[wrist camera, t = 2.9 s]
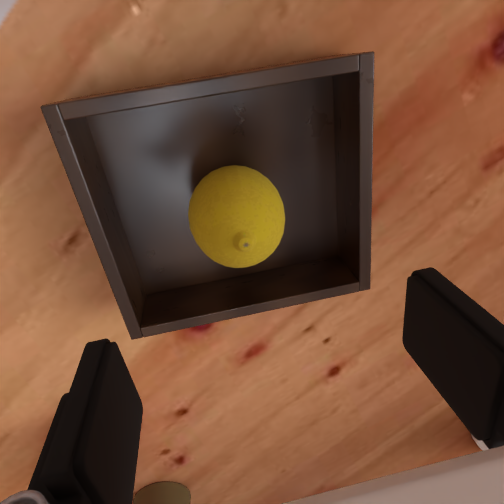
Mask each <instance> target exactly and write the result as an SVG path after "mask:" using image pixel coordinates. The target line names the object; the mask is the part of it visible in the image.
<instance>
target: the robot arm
mask: <svg viewBox="0 0 504 504" xmlns="http://www.w3.org/2000/svg"><path fill="white" fill-rule="evenodd" d="M403 344H404V347H405V349H406V351H407V352H408V353H409V354H410V356H411V357H412V358H413V360H414V361H415V362H416V363H417V365H418V366H419V367H420V369H421V370H422V371H423V372H424V374H425V375H426V376H427V378H428V379H429V380H430V381H431V383H432V384H433V385H434V387H435V388H436V389H437V390H438V392H439V393H440V394H441V396H442V397H443V398H444V399H445V401H446V402H447V403H448V405H449V406H450V407H451V408H452V410H453V411H454V412H455V413H456V415H457V416H458V417H459V419H460V420H461V421H462V422H463V424H464V425H465V426H466V428H467V429H468V430H469V431H470V433H471V435H472V438H473V440H474V441H475V442H476V444H477V445H478V447H479V448H481V449H482V450H483V451H480V452H476V453H472V454H468V455H464V456H460V457H457V458H453V459H449V460H445V461H441V462H437V463H434V464H430V465H426V466H422V467H418V468H414V469H410V470H407V471H403V472H399V473H395V474H391V475H387V476H384V477H380V478H376V479H372V480H369V481H365V482H361V483H357V484H354V485H350V486H346V487H342V488H338V489H335V490H331V491H327V492H324V493H320V494H316V495H312V496H309V497H305V498H301V499H297V500H294V501H290V502H286V503H282V504H504V325H503V324H502V323H501V322H499V321H498V320H497V319H496V318H495V317H493V316H492V315H491V314H490V313H488V312H487V311H486V310H485V309H484V308H482V307H481V306H480V305H479V304H477V303H476V302H475V301H474V300H472V299H471V298H470V297H469V296H468V295H466V294H465V293H464V292H463V291H461V290H460V289H459V288H458V287H456V286H455V285H454V284H453V283H452V282H450V281H449V280H448V279H447V278H445V277H444V276H443V275H442V274H441V273H439V272H438V271H437V270H436V269H434V268H431V267H430V268H426V269H421V270H416V271H414V272H413V273H412V275H411V276H410V277H408V279H407V289H406V302H405V314H404V326H403ZM142 414H143V407H142V402H141V399H140V397H139V394H138V392H137V390H136V387H135V385H134V383H133V380H132V378H131V376H130V373H129V371H128V369H127V366H126V364H125V362H124V359H123V357H122V355H121V352H120V350H119V348H118V345H117V344H116V342H110V341H109V340H108V339H102V340H97V341H93V342H88V343H87V344H86V346H85V348H84V351H83V354H82V357H81V360H80V363H79V366H78V368H77V371H76V374H75V377H74V380H73V383H72V386H71V388H70V391H69V393H66V394H64V395H63V396H62V398H61V400H60V402H59V405H58V408H57V411H56V413H55V416H54V419H53V422H52V424H51V427H50V430H49V432H48V435H47V438H46V441H45V443H44V446H43V449H42V451H41V454H40V457H39V460H38V462H37V465H36V468H35V471H34V473H33V476H32V479H31V481H30V484H29V487H28V490H25V491H20V492H18V493H16V494H14V495H11V496H9V497H8V498H7V499H5V500H4V501H2V502H1V503H0V504H132V499H133V491H134V482H135V474H136V465H137V457H138V448H139V440H140V431H141V423H142Z"/></svg>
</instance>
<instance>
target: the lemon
mask: <svg viewBox="0 0 504 504" xmlns="http://www.w3.org/2000/svg"><path fill="white" fill-rule="evenodd" d="M188 218H189V225H190V230H191V232H192V235H193V237H194V239H195V241H196V243H197V245H198V246H199V247H200V248H201V250H202V251H203V252H204V253H205V254H206V255H207V256H208V257H209V258H211V259H212V260H213V261H215V262H217V263H219V264H221V265H224V266H227V267H233V268H244V267H249V266H253V265H256V264H258V263H260V262H262V261H263V260H265V259H266V258H267V257H269V256H270V255H271V254H272V253H273V252H274V250H275V249H276V248H277V246H278V245H279V243H280V240H281V238H282V235H283V232H284V225H285V213H284V206H283V202H282V200H281V197H280V195H279V193H278V191H277V189H276V188H275V186H274V185H273V184H272V183H271V181H270V180H269V179H268V178H267V177H265V176H264V175H262V174H261V173H260V172H258V171H256V170H254V169H251V168H248V167H246V166H237V165H232V166H225V167H221V168H219V169H216V170H214V171H212V172H210V173H209V174H208V175H206V176H205V177H204V178H203V179H202V180H201V181H200V182H199V184H198V185H197V186H196V188H195V189H194V192H193V194H192V197H191V199H190V203H189V211H188Z"/></svg>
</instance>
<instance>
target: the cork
mask: <svg viewBox="0 0 504 504" xmlns="http://www.w3.org/2000/svg"><path fill="white" fill-rule="evenodd" d="M190 499H191V495H190V491H189V490H188V489H187V487H185V486H183V485H181V484H179V483H175V482H159V483H154V484H151V485H148V486H146V487H144V488H143V489H141V490H140V491H139V492H138V493H137V494H136V495H135V498H134V504H190Z"/></svg>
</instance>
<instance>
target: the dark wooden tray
mask: <svg viewBox="0 0 504 504" xmlns="http://www.w3.org/2000/svg"><path fill="white" fill-rule="evenodd" d="M373 95H374V52H363V53H352V54H342V55H335V56H329V57H323V58H317V59H311V60H305V61H299V62H292V63H286V64H280V65H274V66H268V67H262V68H256V69H249V70H243V71H237V72H231V73H225V74H219V75H213V76H206V77H200V78H194V79H188V80H182V81H176V82H170V83H163V84H157V85H151V86H145V87H139V88H133V89H127V90H121V91H114V92H108V93H102V94H96V95H90V96H84V97H78V98H71V99H66V100H62V101H58V102H54V103H50V104H46V105H42V106H41V110H42V112H43V115H44V118H45V120H46V123H47V125H48V128H49V130H50V133H51V135H52V138H53V140H54V143H55V146H56V148H57V151H58V153H59V156H60V158H61V161H62V163H63V166H64V169H65V171H66V174H67V176H68V179H69V181H70V184H71V186H72V189H73V191H74V194H75V197H76V199H77V202H78V204H79V207H80V209H81V212H82V214H83V217H84V219H85V222H86V225H87V227H88V230H89V232H90V235H91V237H92V240H93V242H94V245H95V248H96V250H97V253H98V255H99V258H100V260H101V263H102V265H103V268H104V270H105V273H106V276H107V278H108V281H109V283H110V286H111V288H112V291H113V293H114V296H115V299H116V301H117V304H118V306H119V309H120V311H121V314H122V316H123V319H124V321H125V324H126V327H127V329H128V332H129V334H130V337H131V339H137V338H142V337H148V336H152V335H157V334H162V333H166V332H171V331H176V330H180V329H185V328H190V327H195V326H199V325H204V324H209V323H213V322H218V321H223V320H227V319H232V318H237V317H241V316H246V315H251V314H255V313H260V312H265V311H270V310H274V309H279V308H284V307H288V306H293V305H298V304H302V303H307V302H312V301H316V300H321V299H326V298H331V297H335V296H340V295H345V294H349V293H354V292H359V291H363V290H368V289H370V272H371V213H372V154H373ZM232 165H237V166H246V167H248V168H251V169H254V170H256V171H258V172H260V173H261V174H262V175H264V176H265V177H267V178H268V179H269V180H270V181H271V183H272V184H273V185H274V186H275V188H276V189H277V191H278V193H279V195H280V197H281V200H282V202H283V206H284V213H285V225H284V232H283V235H282V238H281V240H280V243H279V245H278V246H277V248H276V249H275V250H274V252H273V253H272V254H271V255H270V256H269V257H267V258H266V259H265V260H263V261H262V262H260V263H258V264H256V265H253V266H249V267H244V268H233V267H227V266H224V265H221V264H219V263H217V262H215V261H213V260H212V259H211V258H209V257H208V256H207V255H206V254H205V253H204V252H203V251H202V250H201V248H200V247H199V246H198V245H197V243H196V241H195V239H194V237H193V235H192V232H191V230H190V225H189V218H188V211H189V203H190V199H191V197H192V194H193V192H194V189H195V188H196V186H197V185H198V184H199V182H200V181H201V180H202V179H203V178H204V177H205V176H206V175H208V174H209V173H210V172H212V171H214V170H216V169H219V168H221V167H225V166H232Z"/></svg>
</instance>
